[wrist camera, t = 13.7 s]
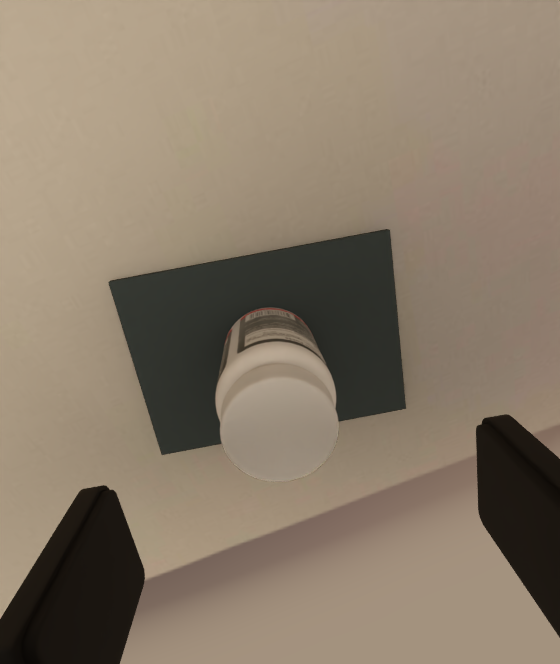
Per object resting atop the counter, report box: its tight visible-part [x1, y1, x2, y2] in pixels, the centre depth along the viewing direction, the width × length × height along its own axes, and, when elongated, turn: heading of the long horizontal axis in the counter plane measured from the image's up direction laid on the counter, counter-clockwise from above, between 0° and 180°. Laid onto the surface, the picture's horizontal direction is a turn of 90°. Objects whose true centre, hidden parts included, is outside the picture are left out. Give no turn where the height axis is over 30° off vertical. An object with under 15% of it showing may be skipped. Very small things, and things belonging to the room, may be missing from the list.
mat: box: [109, 229, 406, 455], centre depth 22 cm, size 14×10×1 cm
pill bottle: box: [215, 307, 339, 482], centre depth 18 cm, size 5×5×8 cm
